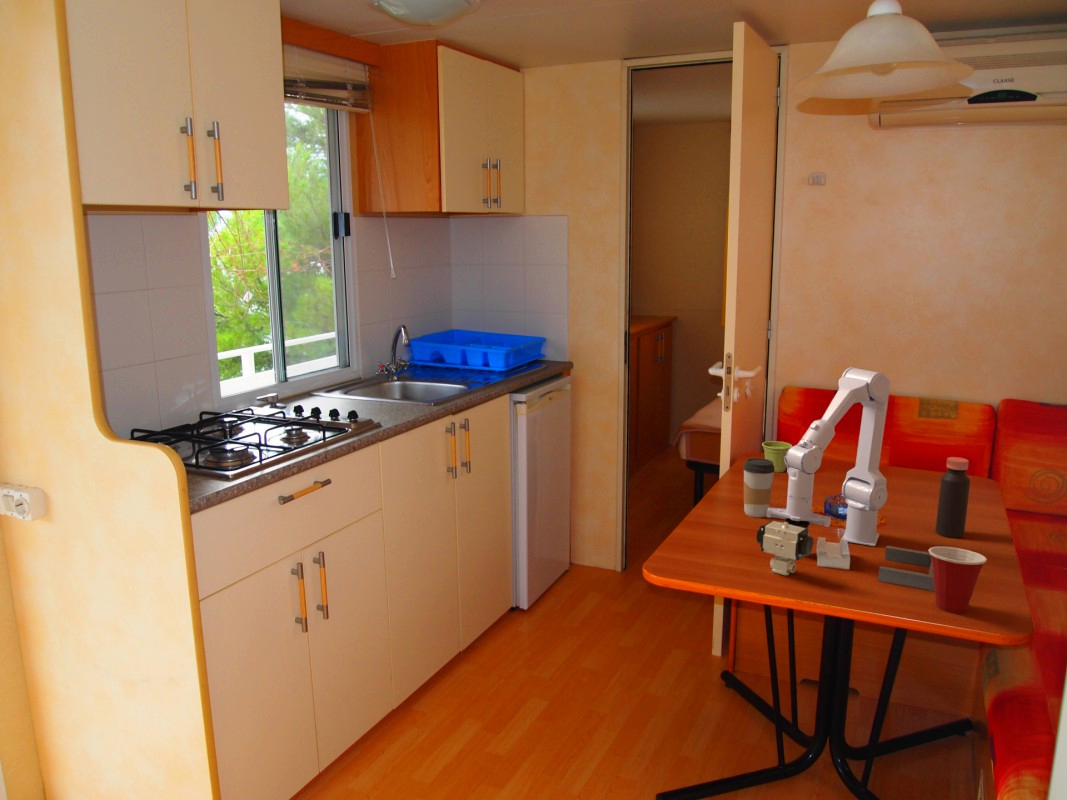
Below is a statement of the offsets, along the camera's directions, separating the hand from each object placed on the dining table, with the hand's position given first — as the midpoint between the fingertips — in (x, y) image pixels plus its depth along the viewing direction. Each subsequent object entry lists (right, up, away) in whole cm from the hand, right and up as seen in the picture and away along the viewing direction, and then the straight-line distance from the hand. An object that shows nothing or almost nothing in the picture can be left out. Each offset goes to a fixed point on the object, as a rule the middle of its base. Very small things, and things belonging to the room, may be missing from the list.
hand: (795, 549), depth 206 cm
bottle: (+45, +1, +15) cm, 47 cm away
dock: (+22, -3, -11) cm, 25 cm away
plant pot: (+16, +13, +73) cm, 76 cm away
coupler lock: (+8, -2, -4) cm, 9 cm away
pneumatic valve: (-7, -3, -12) cm, 14 cm away
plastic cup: (+24, -7, -29) cm, 38 cm away
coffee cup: (-2, +5, +29) cm, 29 cm away
